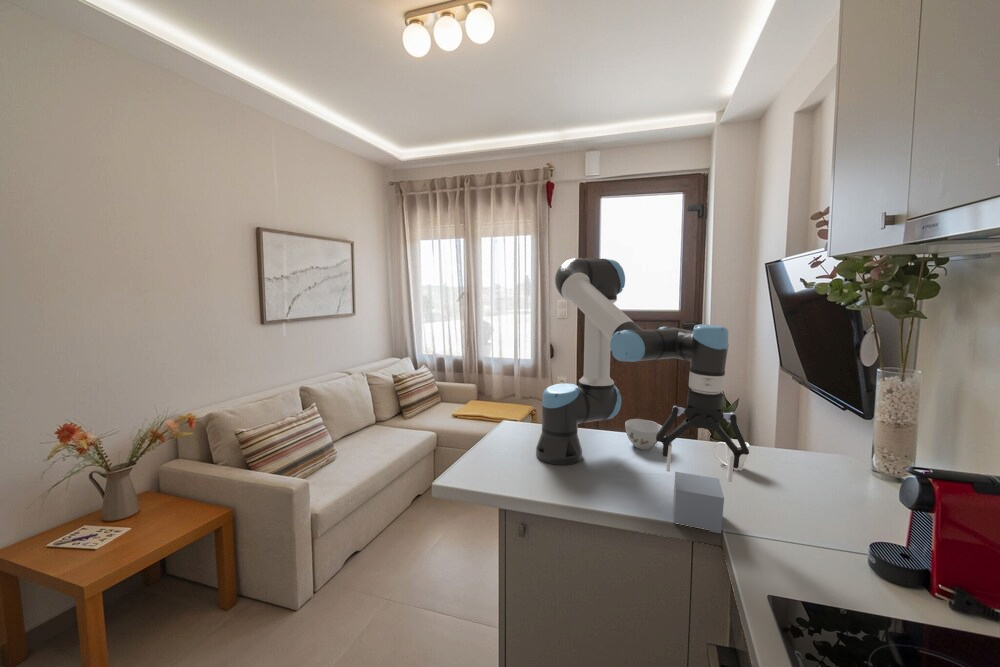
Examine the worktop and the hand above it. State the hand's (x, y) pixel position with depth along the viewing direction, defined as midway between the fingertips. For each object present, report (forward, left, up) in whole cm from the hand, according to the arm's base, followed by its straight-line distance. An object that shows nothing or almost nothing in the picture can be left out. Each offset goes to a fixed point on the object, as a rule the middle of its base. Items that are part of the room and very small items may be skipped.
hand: (697, 474), depth 104 cm
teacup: (-14, +43, -11) cm, 46 cm away
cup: (+12, +36, -11) cm, 39 cm away
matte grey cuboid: (0, 0, -11) cm, 11 cm away
